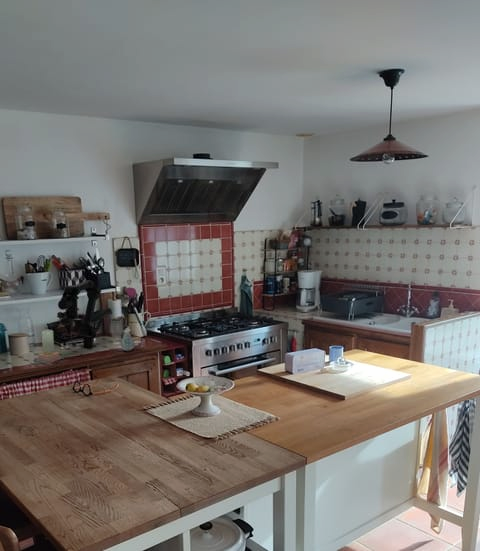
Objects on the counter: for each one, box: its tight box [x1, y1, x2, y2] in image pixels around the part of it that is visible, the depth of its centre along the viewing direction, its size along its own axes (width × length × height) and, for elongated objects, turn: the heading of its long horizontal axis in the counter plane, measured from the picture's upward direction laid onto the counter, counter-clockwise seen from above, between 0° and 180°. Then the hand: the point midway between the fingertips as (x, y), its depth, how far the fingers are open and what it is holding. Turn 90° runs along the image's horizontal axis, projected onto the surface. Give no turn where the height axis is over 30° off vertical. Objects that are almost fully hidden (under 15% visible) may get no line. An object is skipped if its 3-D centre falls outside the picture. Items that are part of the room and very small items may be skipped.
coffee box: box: [111, 316, 129, 344], centre depth 320 cm, size 9×6×16 cm
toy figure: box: [112, 327, 142, 352], centre depth 301 cm, size 17×10×15 cm, turn 105°
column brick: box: [41, 329, 55, 355], centre depth 282 cm, size 6×6×14 cm
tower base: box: [32, 351, 65, 365], centre depth 283 cm, size 12×12×4 cm
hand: (73, 333), depth 293 cm, fingers open, 9 cm apart
